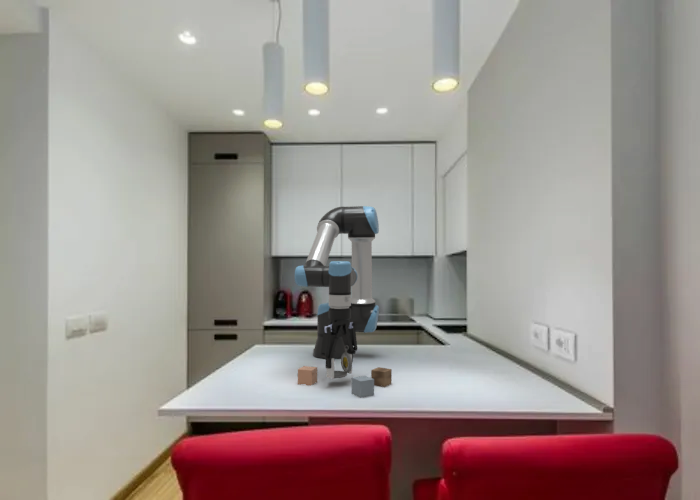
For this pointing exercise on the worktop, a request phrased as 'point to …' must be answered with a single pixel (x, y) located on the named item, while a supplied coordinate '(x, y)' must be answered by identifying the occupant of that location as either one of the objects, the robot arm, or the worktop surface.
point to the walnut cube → (381, 376)
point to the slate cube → (362, 386)
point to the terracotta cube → (307, 375)
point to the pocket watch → (344, 365)
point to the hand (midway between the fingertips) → (339, 375)
